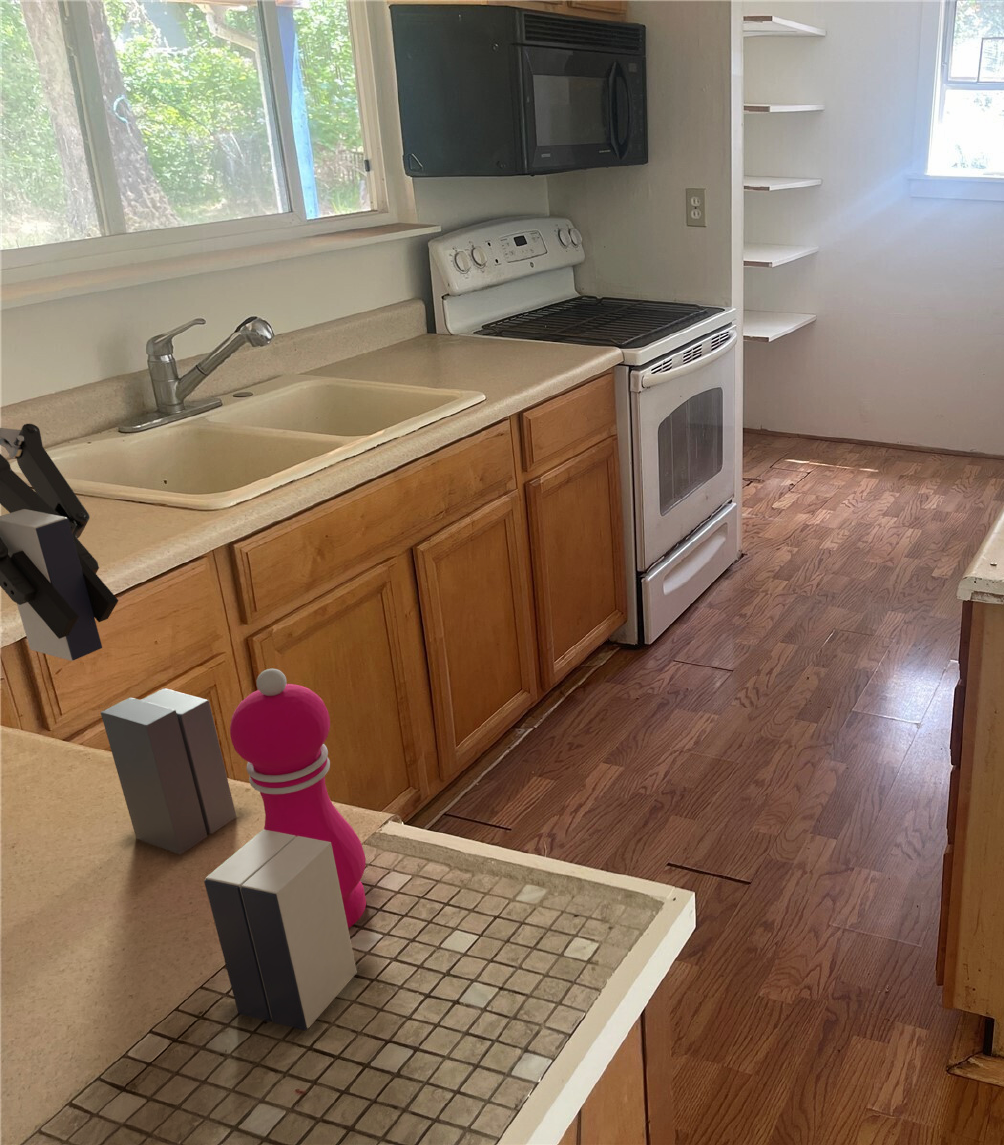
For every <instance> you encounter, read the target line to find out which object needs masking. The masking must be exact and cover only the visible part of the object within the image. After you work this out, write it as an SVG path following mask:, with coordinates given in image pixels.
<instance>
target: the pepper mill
mask: <svg viewBox="0 0 1004 1145" xmlns="http://www.w3.org/2000/svg"><path fill="white" fill-rule="evenodd" d="M287 681H288V680H287V676H286V675H285V673H283V671H281V670H280V669H277V668H267V669H265V670H262V671H261V672H260V674H258V676H257V678H256V687H257V690H255V691H253V692H251V693H250V694H249V695H247V696H246V697H245V698H243V699H242V700H241V701H240V703H239V704H238V705H237V706H236V708H235V710H234V712H233V714H232V716H231V720H230V724H229V734H230V740H231V744H232V746H233V749H234V750H235V752H236V753H237V755H239V756H240V757H241V758H242V759H243V761H246V762H247V763H246V771H247V774H248V775H249V778H248V782H249V785H250V786H251V788H253V789H254V790H255V791H257V792H259V793H260V797H261V798H262V801H263V807H264V814H265V815H264V816H265V817H264V827H263V829H264V830H269V831H274V832H280V833H285V834H290V835H295V836H296V837H297V836H301V837H306V838H311V839H317V840H322V841H327V842H331V845H332V850H333V855H334V860H335V865H336V870H337V875H338V880H339V885H340V890H341V895H342V900H343V905H344V910H345V915H346V920H347V925H348V929H350V928H351V927H352V926H354V924H356V923H357V922H358V921H359V920H360V919H361V918H362V915H363V914H364V913H365V910H366V907H367V899H366V893H365V888H364V885H363V882H362V881H361V880H362V878H363V875H364V873H365V870H366V864H367V863H366V859H367V858H366V854H365V851H364V848H363V844H362V842H361V840H360V838H359V836H358V834H357V833H356V831H355V829H354V828H353V827H352V825H351V824H350V823H349V822H348V821H347V819H346V818H344V816H343V815H342V814H341V813H340V812H339V810H338V809H337V807H336V806H335V805H334V804H333V802H332V800H331V798H330V796H329V793H328V789H327V786H326V775H327V774H328V772H329V770H330V768H331V761H330V758H329V756H328V755H329V751H328V750H329V749H328V747H327V746H326V744H325V742H326V740H327V739H328V736H329V733H330V728H331V719H330V718H331V717H330V713H329V710H328V708H327V706H326V704H325V702H324V700H323V699H322V698H321V697H320V696H319V694H317V693H316V692H315V691H313V690H312V689H310V688H308V687H306V686H302V685H299V684H294V683H287Z"/></svg>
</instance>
